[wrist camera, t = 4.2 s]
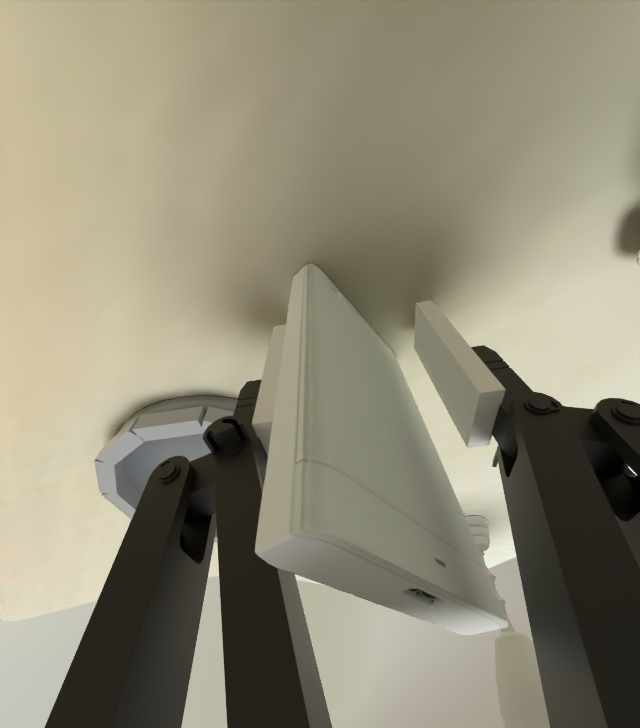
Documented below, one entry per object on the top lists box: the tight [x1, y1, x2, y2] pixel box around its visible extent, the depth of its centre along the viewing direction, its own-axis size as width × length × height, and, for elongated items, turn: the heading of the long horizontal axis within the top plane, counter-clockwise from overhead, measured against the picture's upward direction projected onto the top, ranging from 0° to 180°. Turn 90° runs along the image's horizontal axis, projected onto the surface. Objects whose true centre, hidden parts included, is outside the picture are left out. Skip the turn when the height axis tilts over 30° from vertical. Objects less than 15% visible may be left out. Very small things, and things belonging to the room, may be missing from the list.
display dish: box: [95, 396, 238, 542], centre depth 23 cm, size 17×17×2 cm
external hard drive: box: [255, 263, 509, 635], centre depth 11 cm, size 2×8×12 cm, turn 41°
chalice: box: [464, 516, 550, 728], centre depth 24 cm, size 7×7×18 cm
